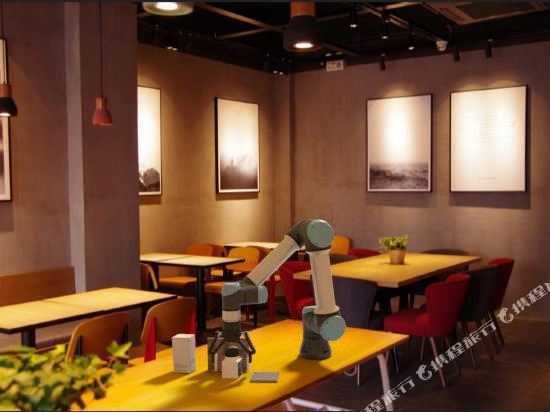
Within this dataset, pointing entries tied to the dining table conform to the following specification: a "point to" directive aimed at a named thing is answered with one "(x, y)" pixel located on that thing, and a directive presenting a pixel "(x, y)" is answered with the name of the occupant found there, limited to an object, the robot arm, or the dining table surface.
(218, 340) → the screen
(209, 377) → the dining table surface
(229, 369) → the medicine bottle
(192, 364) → the skincare box
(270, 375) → the coaster
